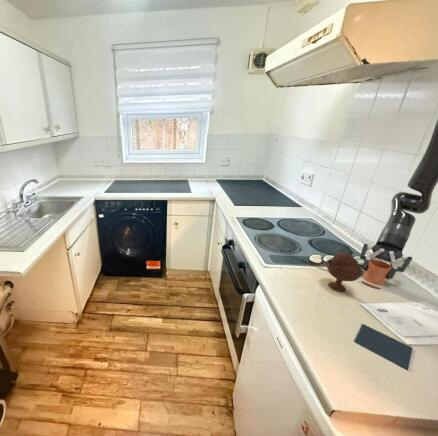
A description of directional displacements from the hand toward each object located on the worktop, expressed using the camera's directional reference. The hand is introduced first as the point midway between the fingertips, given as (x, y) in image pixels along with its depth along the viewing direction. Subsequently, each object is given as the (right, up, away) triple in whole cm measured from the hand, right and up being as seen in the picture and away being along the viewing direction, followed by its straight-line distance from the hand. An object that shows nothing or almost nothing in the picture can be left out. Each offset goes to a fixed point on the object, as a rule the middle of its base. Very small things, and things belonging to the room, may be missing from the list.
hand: (375, 274), depth 90 cm
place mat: (-19, -15, -22) cm, 33 cm away
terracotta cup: (+1, -5, +3) cm, 6 cm away
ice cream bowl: (-14, -6, +1) cm, 15 cm away
